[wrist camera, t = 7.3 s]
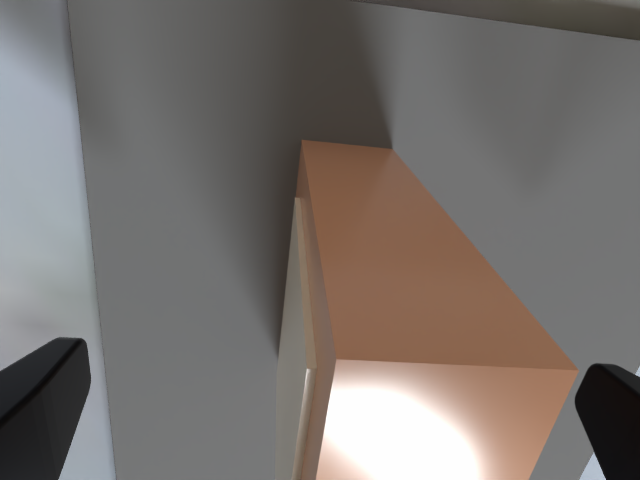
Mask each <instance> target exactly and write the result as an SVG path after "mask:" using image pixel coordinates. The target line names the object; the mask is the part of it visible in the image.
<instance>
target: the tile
mask: <svg viewBox="0 0 640 480" xmlns="http://www.w3.org/2000/svg"><path fill="white" fill-rule="evenodd" d="M578 372H579V370H578V369H577V367H576V366H575V365H574V364H573V363H572V361H571V360H570V359H569V358H568V357H567V355H566V354H565V353H564V352H563V351H562V350H561V348H560V347H559V346H558V345H557V344H556V342H555V341H554V340H553V339H552V338H551V336H550V335H549V334H548V333H547V332H546V330H545V329H544V328H543V327H542V326H541V325H540V323H539V322H538V321H537V320H536V319H535V317H534V316H533V315H532V314H531V313H530V311H529V310H528V309H527V308H526V307H525V306H524V304H523V303H522V302H521V301H520V300H519V298H518V297H517V296H516V295H515V294H514V292H513V291H512V290H511V289H510V288H509V287H508V285H507V284H506V283H505V282H504V281H503V279H502V278H501V277H500V276H499V275H498V273H497V272H496V271H495V270H494V269H493V268H492V266H491V265H490V264H489V263H488V262H487V260H486V259H485V258H484V257H483V256H482V254H481V253H480V252H479V251H478V250H477V249H476V247H475V246H474V245H473V244H472V243H471V241H470V240H469V239H468V238H467V237H466V235H465V234H464V233H463V232H462V231H461V230H460V228H459V227H458V226H457V225H456V224H455V222H454V221H453V220H452V219H451V218H450V216H449V215H448V214H447V213H446V212H445V211H444V209H443V208H442V207H441V206H440V205H439V203H438V202H437V201H436V200H435V199H434V197H433V196H432V195H431V194H430V193H429V192H428V190H427V189H426V188H425V187H424V186H423V184H422V183H421V182H420V181H419V180H418V178H417V177H416V176H415V175H414V174H413V173H412V171H411V170H410V169H409V168H408V167H407V165H406V164H405V163H404V162H403V161H402V159H401V158H400V157H399V156H398V155H397V154H396V152H395V151H394V150H393V149H387V148H378V147H368V146H358V145H348V144H339V143H329V142H319V141H309V140H302V141H301V150H300V160H299V169H298V179H297V189H296V198H295V202H294V211H293V221H292V231H291V240H290V250H289V260H288V269H287V279H286V289H285V298H284V308H283V318H282V328H281V337H280V347H279V357H278V366H277V387H276V451H275V480H529V478H530V475H531V473H532V471H533V469H534V467H535V465H536V462H537V460H538V458H539V456H540V454H541V452H542V450H543V447H544V445H545V443H546V441H547V439H548V437H549V434H550V432H551V430H552V428H553V426H554V424H555V422H556V419H557V417H558V415H559V413H560V411H561V409H562V407H563V404H564V402H565V400H566V398H567V396H568V394H569V391H570V389H571V387H572V385H573V383H574V381H575V379H576V376H577V374H578Z"/></svg>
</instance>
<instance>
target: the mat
mask: <svg viewBox="0 0 640 480" xmlns="http://www.w3.org/2000/svg"><path fill="white" fill-rule="evenodd" d="M67 4H68V14H69V24H70V33H71V43H72V53H73V62H74V72H75V82H76V91H77V101H78V111H79V121H80V130H81V140H82V150H83V159H84V169H85V179H86V188H87V198H88V208H89V218H90V227H91V237H92V247H93V256H94V266H95V276H96V285H97V295H98V305H99V314H100V324H101V334H102V344H103V353H104V363H105V373H106V382H107V392H108V402H109V411H110V421H111V431H112V440H113V450H114V460H115V470H116V479H117V480H275V451H276V387H277V366H278V357H279V347H280V337H281V328H282V318H283V308H284V298H285V289H286V279H287V269H288V260H289V250H290V240H291V231H292V221H293V211H294V202H295V198H296V189H297V179H298V169H299V160H300V150H301V141H302V140H309V141H319V142H329V143H339V144H348V145H358V146H368V147H378V148H387V149H393V150H394V151H395V152H396V154H397V155H398V156H399V157H400V158H401V159H402V161H403V162H404V163H405V164H406V165H407V167H408V168H409V169H410V170H411V171H412V173H413V174H414V175H415V176H416V177H417V178H418V180H419V181H420V182H421V183H422V184H423V186H424V187H425V188H426V189H427V190H428V192H429V193H430V194H431V195H432V196H433V197H434V199H435V200H436V201H437V202H438V203H439V205H440V206H441V207H442V208H443V209H444V211H445V212H446V213H447V214H448V215H449V216H450V218H451V219H452V220H453V221H454V222H455V224H456V225H457V226H458V227H459V228H460V230H461V231H462V232H463V233H464V234H465V235H466V237H467V238H468V239H469V240H470V241H471V243H472V244H473V245H474V246H475V247H476V249H477V250H478V251H479V252H480V253H481V254H482V256H483V257H484V258H485V259H486V260H487V262H488V263H489V264H490V265H491V266H492V268H493V269H494V270H495V271H496V272H497V273H498V275H499V276H500V277H501V278H502V279H503V281H504V282H505V283H506V284H507V285H508V287H509V288H510V289H511V290H512V291H513V292H514V294H515V295H516V296H517V297H518V298H519V300H520V301H521V302H522V303H523V304H524V306H525V307H526V308H527V309H528V310H529V311H530V313H531V314H532V315H533V316H534V317H535V319H536V320H537V321H538V322H539V323H540V325H541V326H542V327H543V328H544V329H545V330H546V332H547V333H548V334H549V335H550V336H551V338H552V339H553V340H554V341H555V342H556V344H557V345H558V346H559V347H560V348H561V350H562V351H563V352H564V353H565V354H566V355H567V357H568V358H569V359H570V360H571V361H572V363H573V364H574V365H575V366H576V367H577V369H578V370H579V372H578V374H577V376H576V379H575V381H574V383H573V385H572V387H571V389H570V391H569V394H568V396H567V398H566V400H565V402H564V404H563V407H562V409H561V411H560V413H559V415H558V417H557V419H556V422H555V424H554V426H553V428H552V430H551V432H550V434H549V437H548V439H547V441H546V443H545V445H544V447H543V450H542V452H541V454H540V456H539V458H538V460H537V462H536V465H535V467H534V469H533V471H532V473H531V475H530V478H529V480H579V479H580V477H581V475H582V473H583V471H584V469H585V467H586V465H587V464H588V462H589V460H590V458H591V456H592V454H593V452H594V450H593V448H592V446H591V444H590V441H589V439H588V437H587V434H586V432H585V430H584V427H583V425H582V423H581V420H580V418H579V416H578V413H577V411H576V408H575V401H574V400H575V395H576V392H577V390H578V388H579V386H580V384H581V382H582V380H583V378H584V375H585V373H586V371H587V369H588V368H589V367H590V366H591V365H592V364H595V363H605V364H615V365H618V366H620V367H622V368H624V369H625V370H627V371H629V372H631V373H633V374H635V373H636V371H637V370H638V368H639V366H640V41H639V40H631V39H624V38H617V37H610V36H603V35H596V34H588V33H581V32H574V31H567V30H560V29H553V28H546V27H538V26H531V25H524V24H517V23H510V22H503V21H495V20H488V19H481V18H474V17H467V16H460V15H453V14H445V13H438V12H431V11H424V10H417V9H410V8H403V7H395V6H388V5H381V4H374V3H367V2H360V1H352V0H67Z"/></svg>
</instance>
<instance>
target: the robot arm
mask: <svg viewBox="0 0 640 480" xmlns="http://www.w3.org/2000/svg"><path fill="white" fill-rule="evenodd" d="M90 384H91V374H90V365H89V357H88V349H87V344H86V342H85V340H83V339H82V338H68V337H59V338H56V339H54V340H52V341H50V342H48V343H47V344H45V345H43V346H42V347H40V348H38V349H37V350H35V351H33V352H32V353H30V354H28V355H26V356H25V357H23V358H21V359H20V360H18V361H16V362H15V363H13V364H11V365H10V366H8V367H6V368H5V369H3V370H1V371H0V480H58V479H59V476H60V474H61V471H62V468H63V466H64V463H65V460H66V457H67V454H68V451H69V448H70V445H71V442H72V439H73V436H74V434H75V431H76V428H77V425H78V422H79V419H80V416H81V413H82V410H83V407H84V404H85V402H86V399H87V396H88V393H89V389H90ZM574 401H575V408H576V411H577V413H578V416H579V418H580V420H581V423H582V425H583V427H584V430H585V432H586V434H587V437H588V439H589V441H590V444H591V446H592V448H593V450H594V453H595V455H596V457H597V460H598V462H599V464H600V467H601V469H602V471H603V474H604V476H605V478H606V480H640V377H638V376H636V375H635V374H633V373H631V372H629V371H627V370H625V369H624V368H622V367H620V366H618V365H615V364H605V363H595V364H592V365H591V366H590V367H589V368H588V369H587V371H586V373H585V375H584V378H583V380H582V382H581V384H580V386H579V388H578V390H577V392H576V395H575V400H574Z"/></svg>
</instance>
